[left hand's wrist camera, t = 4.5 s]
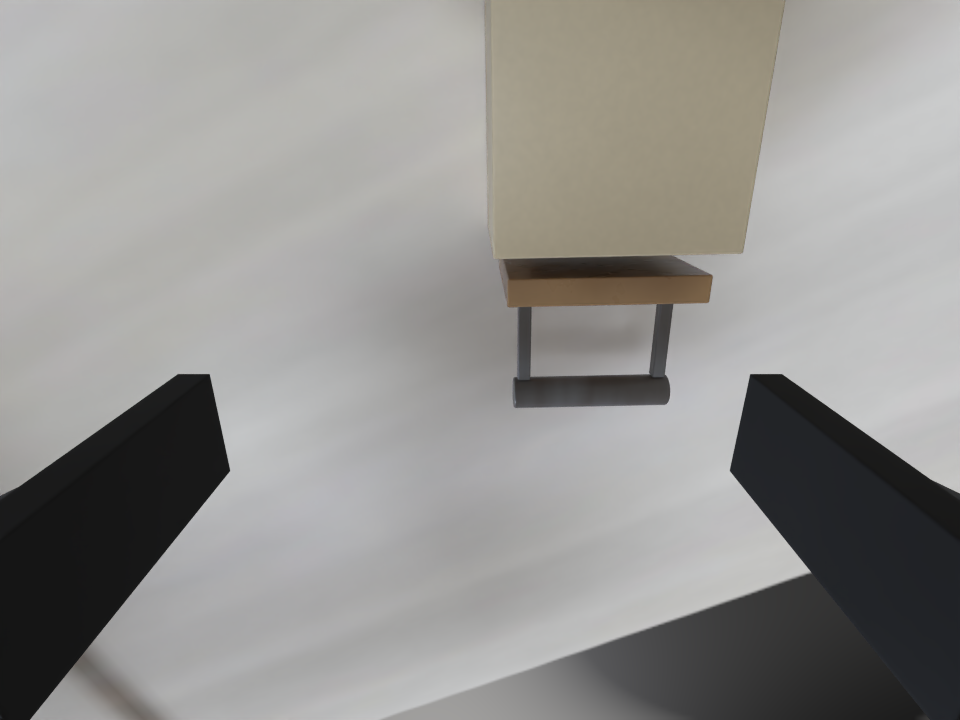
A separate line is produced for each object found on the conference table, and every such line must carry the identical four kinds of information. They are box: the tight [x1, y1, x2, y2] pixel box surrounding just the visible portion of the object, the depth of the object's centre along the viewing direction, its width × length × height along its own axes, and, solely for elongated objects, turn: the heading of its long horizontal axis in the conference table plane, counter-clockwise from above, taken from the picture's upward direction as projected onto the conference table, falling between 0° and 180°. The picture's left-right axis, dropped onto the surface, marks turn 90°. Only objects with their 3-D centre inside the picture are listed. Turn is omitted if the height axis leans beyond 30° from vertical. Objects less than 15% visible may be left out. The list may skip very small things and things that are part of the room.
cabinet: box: [485, 0, 785, 259], centre depth 21 cm, size 17×10×10 cm, turn 1°
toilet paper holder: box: [499, 255, 713, 408], centre depth 23 cm, size 21×8×8 cm, turn 1°
